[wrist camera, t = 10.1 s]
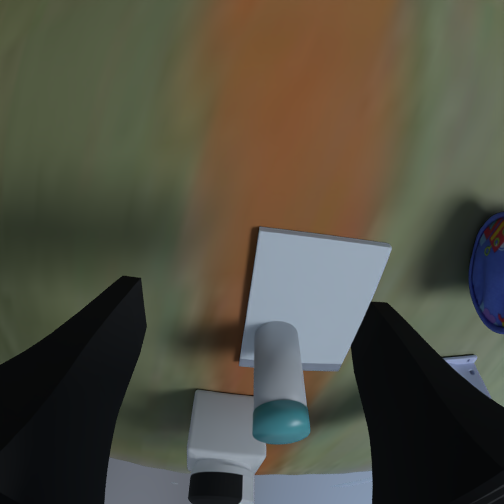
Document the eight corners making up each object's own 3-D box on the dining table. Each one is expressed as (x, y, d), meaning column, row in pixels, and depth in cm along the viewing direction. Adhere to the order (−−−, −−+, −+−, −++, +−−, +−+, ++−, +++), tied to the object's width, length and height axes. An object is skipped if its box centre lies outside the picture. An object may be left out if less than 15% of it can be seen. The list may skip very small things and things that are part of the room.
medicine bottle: (194, 418, 32) (182, 509, 22) (195, 387, 29) (180, 497, 18) (253, 425, 33) (252, 516, 22) (265, 395, 29) (267, 505, 19)
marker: (303, 322, 23) (317, 421, 15) (292, 352, 25) (301, 444, 17) (257, 318, 23) (257, 419, 15) (250, 348, 24) (248, 442, 17)
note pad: (389, 243, 20) (392, 248, 19) (336, 365, 26) (338, 371, 26) (259, 226, 19) (259, 231, 19) (239, 360, 26) (239, 366, 25)
